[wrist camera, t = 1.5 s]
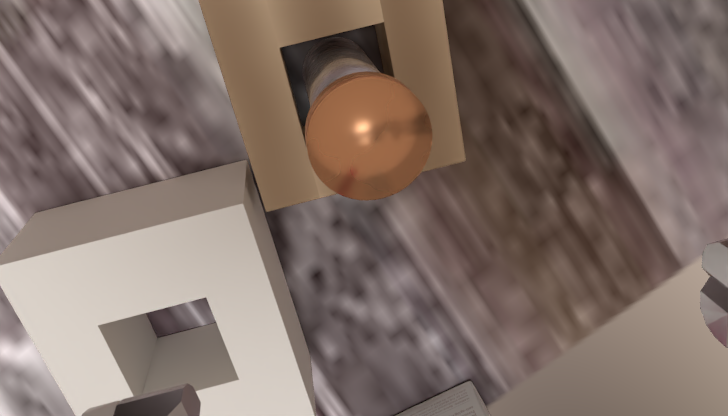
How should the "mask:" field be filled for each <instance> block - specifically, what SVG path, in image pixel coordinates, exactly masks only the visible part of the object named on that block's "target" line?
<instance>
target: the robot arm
mask: <svg viewBox="0 0 728 416" xmlns="http://www.w3.org/2000/svg"><path fill="white" fill-rule="evenodd" d="M702 268H703V269H704V270H705V271H706V272H707V273H708V275H710V278H709V279H708V281H707V282H706V283H705V285H704V287H703V288H702V289H701V291H700V293H701V295H700V309H701V312H702V314H703V317H704V320H705V323H706V325H707V327H708V328H709V329H710V331H711V332H712V334H713V335H714V336H715V338H717V339H718V340H719V341H720V342H721V343H722V344H723V345H724V346H725V347H726V348H728V239H724V240H720V241H717V242H713V243H709V244H707V246H706V248H705V250H704V252H703V256H702ZM200 407H201V402H200V400H199V398H198V395H197V393H196V391H195V389H194V387H193V386H191V385H190V384H188V383H186V384H182V385H178V386H174V387H170V388H166V389H162V390H158V391H154V392H150V393H146V394H142V395H138V396H133V397H129V398H125V399H122V400H120V401H114V402H111V403H107V404H103V405H99V406H95V407H91V408H89V409H87V410H86V411H85V412H84V413H83V414H82V415H81V416H200Z"/></svg>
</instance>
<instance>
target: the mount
mask: <svg viewBox="0 0 728 416" xmlns="http://www.w3.org/2000/svg"><path fill="white" fill-rule="evenodd" d="M199 3H200V7H201V10H202V13H203V16H204V19H205V22H206V25H207V28H208V32H209V35H210V38H211V41H212V44H213V47H214V50H215V53H216V57H217V60H218V63H219V66H220V69H221V72H222V75H223V78H224V82H225V85H226V88H227V91H228V94H229V97H230V100H231V103H232V107H233V110H234V113H235V116H236V119H237V122H238V125H239V128H240V132H241V135H242V138H243V141H244V144H245V147H246V150H247V153H248V157H249V160H250V163H251V166H252V169H253V172H254V175H255V178H256V182H257V185H258V188H259V191H260V194H261V197H262V200H263V203H264V207H265V210H266V212H268V211H272V210H276V209H280V208H284V207H288V206H291V205H295V204H299V203H303V202H307V201H311V200H315V199H319V198H323V197H327V196H331V195H334V194H338V193H336V192H334V191H333V190H331V189H330V188H329V187H327V186H326V185H325V184H324V183H323V182H322V181H321V180H320V179H319V177H318V176H317V175H316V173H315V172H314V170H313V168H312V166H311V163H310V160H309V157H308V152H307V146H306V141H305V126H302V123H301V119H300V115H299V112H298V108H297V104H296V100H295V97H294V93H293V89H292V86H291V82H290V78H289V75H288V71H287V67H286V63H285V60H284V56H283V52H282V49H281V47H284V46H288V45H293V44H297V43H301V42H305V41H309V40H313V39H317V38H321V37H325V36H329V35H333V34H337V33H341V32H346V31H350V30H354V29H358V28H362V27H366V26H370V25H375V30H376V35H377V40H378V45H379V50H380V55H381V60H382V65H383V70H384V74H387V75H389V76H392V77H394V78H396V79H398V80H399V81H401V82H402V83H403V84H405V85H406V86H407V87H408V88H409V89H410V90H411V91H412V92H413V93H414V94H415V96H416V97H417V98H418V99H419V100H420V102H421V103H422V104H423V106H424V107H425V109H426V111H427V113H428V116H429V118H430V122H431V126H432V146H431V151H430V155H429V158H428V160H427V162H426V164H425V166H424V168H423V170H422V171H421V172H424V171H428V170H432V169H436V168H440V167H444V166H448V165H452V164H456V163H459V162H463V161H466V159H465V152H464V145H463V138H462V132H461V125H460V118H459V111H458V104H457V97H456V90H455V84H454V77H453V70H452V63H451V56H450V49H449V42H448V36H447V29H446V22H445V15H444V8H443V1H442V0H199Z"/></svg>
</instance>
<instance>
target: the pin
mask: <svg viewBox="0 0 728 416" xmlns="http://www.w3.org/2000/svg"><path fill="white" fill-rule="evenodd" d="M303 78H304V83H305V87H306V91H307V95H308V99H309V104H310V110H309V112H308V115H307V119H306V124H305V141H306V146H307V152H308V157H309V160H310V163H311V166H312V168H313V170H314V172H315V173H316V175H317V176H318V177H319V179H320V180H321V181H322V182H323V183H324V184H325V185H326V186H327V187H329V188H330V189H331V190H333V191H334V192H336V193H338V194H340V195H342V196H345V197H348V198H351V199H357V200H376V199H381V198H385V197H388V196H391V195H393V194H395V193H398V192H399V191H401V190H403V189H404V188H405V187H407V186H408V185H409V184H411V183H412V182H413V181H414V180H415V179H416V178H417V176H418V175H419V174H420V173H421V171H422V170H423V168H424V166H425V164H426V162H427V160H428V158H429V155H430V151H431V146H432V126H431V122H430V118H429V116H428V113H427V111H426V109H425V107H424V106H423V104H422V103H421V102H420V100H419V99H418V98H417V97H416V96H415V94H414V93H413V92H412V91H411V90H410V89H409V88H408V87H407V86H406V85H405V84H403V83H402V82H401V81H399V80H398V79H396V78H394V77H392V76H389V75H387V74H383V73H380V72H379V70H378V69H377V68H376V67H375V65H374V64H373V63H372V61H371V60H370V59H369V58H368V56H367V55H366V54H365V52H364V51H363V50H362V49H361V47H360V46H358V45H357V44H356V43H355V42H353V41H351V40H349V39H347V38H343V37H330V38H326V39H323V40H321V41H319V42H318V43H316V44H315V45H314V46H313V47H312V48H311V49H310V50H309V52H308V53H307V55H306V57H305V60H304V63H303Z"/></svg>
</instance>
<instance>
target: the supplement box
mask: <svg viewBox="0 0 728 416" xmlns="http://www.w3.org/2000/svg"><path fill="white" fill-rule="evenodd" d="M395 416H491V415H490V413H489V411H488V409H487V407H486V406H485V404H484V402H483V400H482V399H481V397H480V395H479V393H478V392H477V390H476V388H475V387H474V385H473V383H472V382H471V381H468V382H465V383H463V384H461V385H459V386H457V387H454V388H452V389H450V390H448V391H446V392H444V393H442V394H440V395H438V396H435V397H433V398H431V399H429V400H427V401H425V402H423V403H421V404H418V405H416V406H414V407H412V408H410V409H408V410H406V411H404V412H402V413H400V414H397V415H395Z"/></svg>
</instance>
